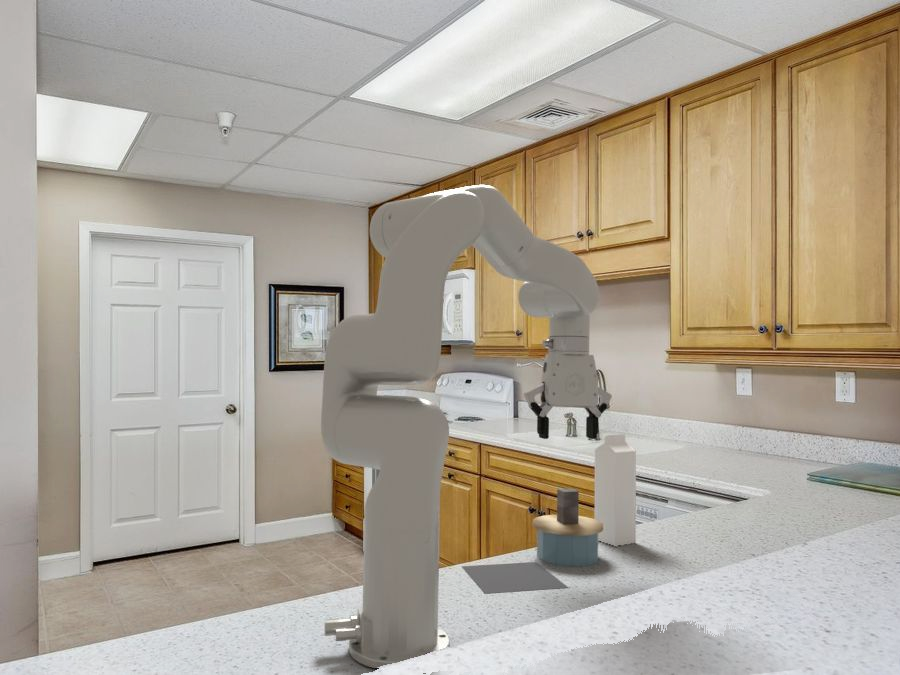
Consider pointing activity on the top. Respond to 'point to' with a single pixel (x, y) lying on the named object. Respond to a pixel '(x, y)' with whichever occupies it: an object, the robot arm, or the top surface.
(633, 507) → the milk
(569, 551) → the bowl
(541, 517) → the lid
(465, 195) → the robot arm
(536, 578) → the mat
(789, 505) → the top surface
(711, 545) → the top surface
